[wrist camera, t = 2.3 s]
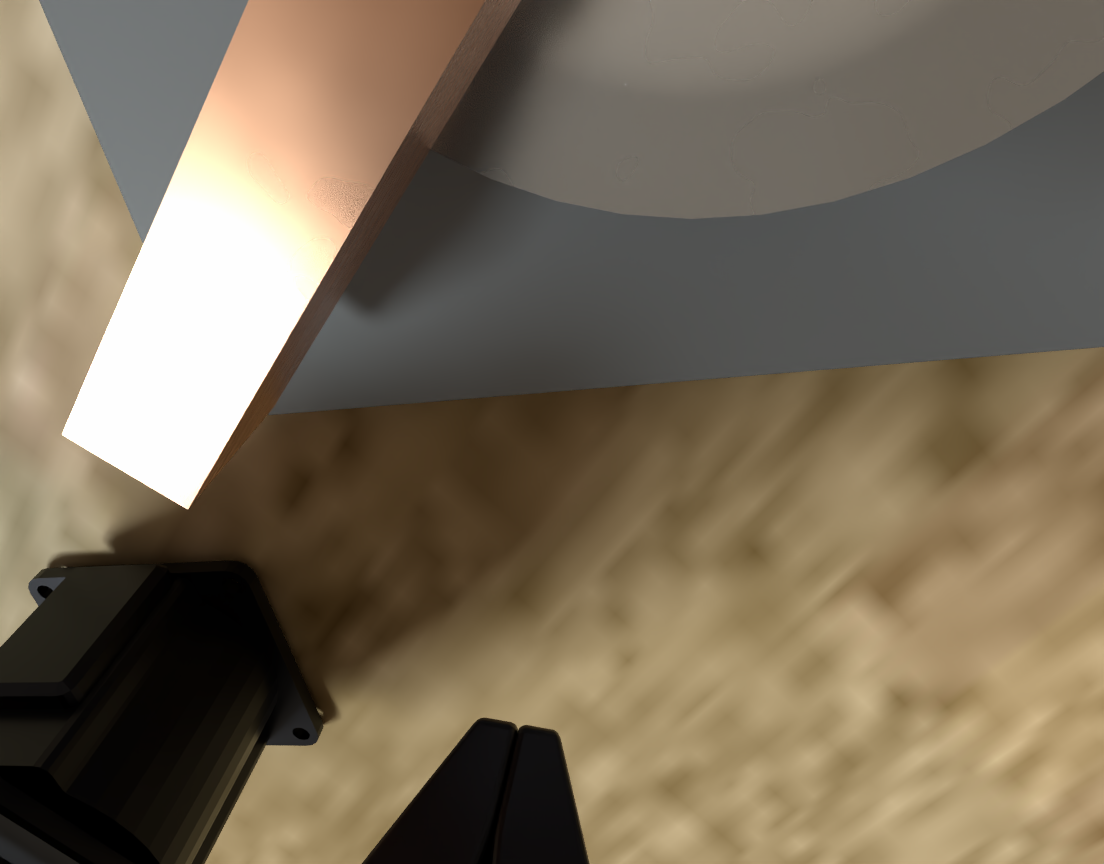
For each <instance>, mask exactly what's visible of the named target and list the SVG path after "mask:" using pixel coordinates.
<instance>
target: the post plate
mask: <svg viewBox="0 0 1104 864" xmlns="http://www.w3.org/2000/svg"><path fill="white" fill-rule="evenodd" d="M39 1H40V3H41V6H42V8H43V10H44V13H45V15H46V18H47V20H48V22H49V25H50V27H51V29H52V32H53V34H54V36H55V39H56V41H57V43H58V46H59V48H60V50H61V53H62V55H63V57H64V60H65V62H66V64H67V67H68V69H69V71H70V74H71V76H72V78H73V81H74V83H75V85H76V88H77V90H78V92H79V95H80V97H81V100H82V102H83V104H84V107H85V109H86V111H87V114H88V116H89V118H90V121H91V123H92V125H93V128H94V130H95V132H96V135H97V137H98V139H99V142H100V144H101V146H102V149H103V151H104V153H105V156H106V158H107V160H108V163H109V165H110V167H111V170H112V172H113V174H114V177H115V179H116V182H117V184H118V186H119V189H120V191H121V193H122V196H123V198H124V200H125V203H126V205H127V207H128V210H129V212H130V214H131V217H132V219H133V221H134V224H135V226H136V228H137V231H138V233H139V235H140V238H141V240H142V242H143V245H144V242H145V240H146V238H147V235H148V233H149V231H150V228H151V226H152V224H153V221H154V219H155V217H156V214H157V212H158V210H159V207H160V205H161V203H162V200H163V198H164V196H165V193H166V191H167V189H168V186H169V184H170V182H171V179H172V177H173V175H174V172H175V170H176V168H177V165H178V163H179V161H180V158H181V156H182V154H183V152H184V149H185V147H186V145H187V142H188V140H189V138H190V135H191V133H192V131H193V128H194V126H195V124H196V121H197V119H198V117H199V114H200V112H201V110H202V107H203V105H204V103H205V100H206V98H207V96H208V93H209V91H210V89H211V86H212V84H213V82H214V79H215V77H216V75H217V72H218V70H219V68H220V65H221V63H222V61H223V58H224V56H225V54H226V51H227V49H228V47H229V45H230V42H231V40H232V38H233V35H234V33H235V31H236V28H237V26H238V24H239V21H240V19H241V17H242V14H243V12H244V10H245V7H246V5H247V3H248V0H39ZM1096 347H1104V72H1102V73H1101V74H1099V75H1098V76H1097V77H1095V78H1094V79H1092V80H1091V81H1090V82H1088V83H1087V84H1085V85H1084V86H1083V87H1081V88H1080V89H1078V90H1077V91H1076V92H1074V93H1073V94H1071V95H1070V96H1069V97H1067V98H1066V99H1064V100H1063V101H1061V102H1059V103H1057V104H1056V105H1054V106H1052V107H1050V108H1049V109H1047V110H1045V111H1044V112H1042V113H1040V114H1038V115H1037V116H1035V117H1033V118H1031V119H1030V120H1028V121H1026V122H1024V123H1023V124H1021V125H1019V126H1017V127H1016V128H1014V129H1012V130H1010V131H1009V132H1007V133H1005V134H1003V135H1002V136H1000V137H998V138H996V139H995V140H993V141H991V142H989V143H988V144H986V145H984V146H981V147H979V148H977V149H975V150H972V151H970V152H968V153H965V154H963V155H961V156H959V157H956V158H954V159H952V160H949V161H947V162H945V163H943V164H940V165H938V166H936V167H934V168H931V169H929V170H927V171H924V172H922V173H920V174H918V175H915V176H913V177H911V178H908V179H905V180H902V181H899V182H895V183H892V184H889V185H886V186H882V187H879V188H876V189H873V190H870V191H866V192H863V193H860V194H857V195H853V196H850V197H847V198H844V199H840V200H837V201H834V202H828V203H823V204H818V205H812V206H807V207H801V208H796V209H790V210H785V211H779V212H774V213H769V214H763V215H750V216H733V217H715V218H698V219H685V218H670V217H656V216H641V215H626V214H619V213H614V212H609V211H604V210H599V209H594V208H589V207H584V206H579V205H574V204H569V203H564V202H559V201H555V200H552V199H549V198H546V197H543V196H540V195H537V194H534V193H531V192H528V191H525V190H522V189H519V188H516V187H513V186H510V185H507V184H504V183H501V182H498V181H495V180H492V179H490V178H488V177H486V176H484V175H482V174H480V173H478V172H476V171H474V170H472V169H469V168H467V167H465V166H463V165H461V164H459V163H457V162H455V161H453V160H451V159H449V158H447V157H445V156H443V155H441V154H439V153H437V152H434V151H432V150H430V151H429V153H428V154H427V156H426V158H425V159H424V161H423V163H422V164H421V166H420V167H419V169H418V171H417V172H416V174H415V176H414V177H413V179H412V181H411V182H410V184H409V186H408V187H407V189H406V191H405V192H404V194H403V195H402V197H401V199H400V200H399V202H398V204H397V205H396V207H395V209H394V210H393V212H392V214H391V215H390V217H389V218H388V220H387V222H386V223H385V225H384V227H383V228H382V230H381V232H380V233H379V235H378V237H377V238H376V240H375V242H374V243H373V245H372V246H371V248H370V250H369V251H368V253H367V255H366V256H365V258H364V260H363V261H362V263H361V265H360V266H359V268H358V270H357V271H356V273H355V274H354V276H353V278H352V279H351V281H350V283H349V284H348V286H347V288H346V289H345V291H344V293H343V294H342V296H341V298H340V299H339V301H338V302H337V304H336V306H335V307H334V309H333V311H332V312H331V314H330V316H329V317H328V319H327V321H326V322H325V324H324V325H323V327H322V329H321V330H320V332H319V334H318V335H317V337H316V339H315V340H314V342H313V344H312V345H311V347H310V349H309V350H308V352H307V353H306V355H305V357H304V358H303V360H302V362H301V363H300V365H299V367H298V368H297V370H296V372H295V373H294V375H293V377H292V378H291V380H290V381H289V383H288V385H287V386H286V388H285V390H284V391H283V393H282V395H281V396H280V398H279V400H278V401H277V403H276V405H275V406H274V408H273V409H272V410H271V411H270V412H269V414H268V415H276V414H288V413H301V412H313V411H325V410H337V409H349V408H362V407H374V406H386V405H398V404H411V403H423V402H435V401H447V400H460V399H472V398H484V397H496V396H508V395H521V394H533V393H545V392H557V391H570V390H582V389H594V388H606V387H619V386H631V385H643V384H655V383H667V382H680V381H692V380H704V379H716V378H729V377H741V376H753V375H765V374H778V373H790V372H802V371H814V370H827V369H839V368H851V367H863V366H875V365H888V364H900V363H912V362H924V361H937V360H949V359H961V358H973V357H986V356H998V355H1010V354H1022V353H1034V352H1047V351H1059V350H1071V349H1083V348H1096Z"/></svg>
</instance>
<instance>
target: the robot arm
mask: <svg viewBox="0 0 1104 864" xmlns="http://www.w3.org/2000/svg"><path fill="white" fill-rule="evenodd" d="M234 580H235V581H237V582H238V583H237V582H235V581H234ZM28 588H29V591H30V593H31V595H32V596H33V598H34V600H35V601H36V603H37V604H38V606H39V607H38V608H37V609H36V610H35V611H34V612H33V613H32V614H31V615H30V616H29V617H28V618H27V619H26V621H25V622H24V623H23V624H22V625H21V626H20V627H19V628H18V629H17V630H16V631H15V632H14V633H13V634H12V635H11V637H10V638H9V639H8V640H7V641H6V642H5V643H4V644H3V645H2V646H1V647H0V864H205V862H206V860H207V858H208V856H209V854H210V852H211V850H212V848H213V846H214V844H215V842H216V841H217V839H218V837H219V835H220V833H221V831H222V829H223V827H224V825H225V823H226V821H227V819H228V817H229V815H230V813H231V811H232V810H233V808H234V806H235V804H236V802H237V800H238V798H239V796H240V794H241V792H242V790H243V788H244V786H245V784H246V782H247V780H248V779H249V777H250V775H251V773H252V771H253V769H254V767H255V765H256V763H257V761H258V759H259V757H260V755H261V753H262V751H263V750H264V748H265V746H266V745H298V746H307V745H313V744H314V743H316V742H317V740H318V738H319V736H320V733H321V731H322V729H323V722H322V720H321V718H320V716H319V713H318V711H317V709H316V707H315V704H314V702H313V700H312V698H311V696H310V693H309V691H308V689H307V687H306V684H305V682H304V680H303V678H302V675H301V673H300V671H299V669H298V666H297V664H296V662H295V660H294V658H293V655H292V653H291V651H290V649H289V646H288V644H287V642H286V640H285V637H284V635H283V633H282V631H281V629H280V626H279V624H278V622H277V620H276V617H275V615H274V613H273V611H272V608H271V606H270V604H269V602H268V600H267V597H266V595H265V593H264V591H263V588H262V586H261V584H260V582H259V579H258V577H257V575H256V574H255V572H254V571H253V569H251V568H250V567H249V566H248V565H246V564H244V563H242V562H239V561H211V562H187V563H163V564H139V565H115V566H91V567H67V568H47V569H43V570H41V571H40V572H39V573H38V574H37V575H36V576H35V577H34V578H33V579H32V580H31V581H30V582H29V587H28ZM362 864H589V860H588V855H587V851H586V847H585V842H584V838H583V834H582V829H581V825H580V821H579V816H578V812H577V808H576V803H575V799H574V795H573V790H572V786H571V782H570V777H569V773H568V769H567V764H566V760H565V756H564V751H563V747H562V743H561V739H560V736H559V734H558V733H557V732H556V731H555V730H551V729H546V728H540V727H535V726H529V725H524V726H522V727H520V728H519V730H518V729H517V726H516V725H515V724H514V723H512V722H507V721H501V720H496V719H490V718H480V719H478V720H477V721H476V722H475V723H474V724H473V725H472V726H471V727H470V729H469V730H468V731H467V732H466V734H465V735H464V736H463V737H462V739H461V740H460V741H459V742H458V744H457V745H456V746H455V747H454V749H453V750H452V751H451V753H450V754H449V755H448V756H447V758H446V759H445V760H444V761H443V763H442V764H441V765H440V766H439V768H438V769H437V770H436V771H435V773H434V774H433V775H432V776H431V778H430V779H429V780H428V781H427V783H426V784H425V785H424V786H423V788H422V789H421V790H420V791H419V793H418V794H417V795H416V796H415V798H414V799H413V800H412V801H411V803H410V804H409V805H408V806H407V808H406V809H405V810H404V811H403V813H402V814H401V815H400V816H399V818H398V819H397V820H396V821H395V823H394V824H393V825H392V826H391V828H390V829H389V830H388V831H387V833H386V834H385V835H384V836H383V838H382V839H381V840H380V841H379V843H378V844H377V845H376V846H375V848H374V849H373V850H372V851H371V853H370V854H369V855H368V857H367V858H366V859H365V860H364V862H363V863H362Z"/></svg>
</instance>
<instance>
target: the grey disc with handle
mask: <svg viewBox="0 0 1104 864" xmlns="http://www.w3.org/2000/svg"><path fill="white" fill-rule="evenodd" d="M1102 72H1104V0H248V3H247V5H246V7H245V10H244V12H243V14H242V17H241V19H240V21H239V24H238V26H237V28H236V31H235V33H234V35H233V38H232V40H231V42H230V45H229V47H228V49H227V51H226V54H225V56H224V58H223V61H222V63H221V65H220V68H219V70H218V72H217V75H216V77H215V79H214V82H213V84H212V86H211V89H210V91H209V93H208V96H207V98H206V100H205V103H204V105H203V107H202V110H201V112H200V114H199V117H198V119H197V121H196V124H195V126H194V128H193V131H192V133H191V135H190V138H189V140H188V142H187V145H186V147H185V149H184V152H183V154H182V156H181V158H180V161H179V163H178V165H177V168H176V170H175V172H174V175H173V177H172V179H171V182H170V184H169V186H168V189H167V191H166V193H165V196H164V198H163V200H162V203H161V205H160V207H159V210H158V212H157V214H156V217H155V219H154V221H153V224H152V226H151V228H150V231H149V233H148V235H147V238H146V240H145V242H144V245H143V247H142V249H141V252H140V254H139V256H138V259H137V261H136V263H135V265H134V268H133V270H132V272H131V275H130V277H129V279H128V282H127V284H126V286H125V289H124V291H123V293H122V296H121V298H120V300H119V303H118V305H117V307H116V310H115V312H114V314H113V317H112V319H111V321H110V324H109V326H108V328H107V331H106V333H105V335H104V338H103V340H102V342H101V345H100V347H99V349H98V352H97V354H96V356H95V359H94V361H93V363H92V366H91V368H90V370H89V372H88V375H87V377H86V379H85V382H84V384H83V386H82V389H81V391H80V393H79V396H78V398H77V400H76V403H75V405H74V407H73V410H72V412H71V414H70V417H69V419H68V421H67V424H66V426H65V428H64V431H63V433H62V435H63V436H65V437H67V438H68V439H70V440H72V441H73V442H75V443H77V444H78V445H80V446H82V447H83V448H85V449H87V450H88V451H90V452H92V453H93V454H95V455H97V456H98V457H100V458H102V459H104V460H105V461H107V462H109V463H110V464H112V465H114V466H115V467H117V468H119V469H120V470H122V471H124V472H125V473H127V474H129V475H130V476H132V477H134V478H135V479H137V480H139V481H140V482H142V483H144V484H145V485H147V486H149V487H150V488H152V489H154V490H156V491H157V492H159V493H161V494H162V495H164V496H166V497H167V498H169V499H171V500H172V501H174V502H176V503H177V504H179V505H181V506H182V507H184V508H186V509H187V510H188V509H189V507H190V506H191V505H192V504H193V503H194V502H195V500H196V499H197V498H198V497H199V496H200V494H201V493H202V492H203V491H204V490H205V488H206V487H207V486H208V485H209V484H210V483H211V481H212V480H213V479H214V478H215V477H216V475H217V474H218V473H219V472H220V471H221V469H222V468H223V467H224V466H225V465H226V464H227V462H228V461H229V460H230V459H231V458H232V456H233V455H234V454H235V453H236V452H237V450H238V449H239V448H240V447H241V446H242V445H243V443H244V442H245V441H246V440H247V439H248V437H249V436H250V435H251V434H252V433H253V431H254V430H255V429H256V428H257V427H258V426H259V424H260V423H261V422H262V421H263V420H264V418H265V417H266V416H267V415H268V414H269V412H270V411H271V410H272V409H273V408H274V406H275V405H276V403H277V401H278V400H279V398H280V396H281V395H282V393H283V391H284V390H285V388H286V386H287V385H288V383H289V381H290V380H291V378H292V377H293V375H294V373H295V372H296V370H297V368H298V367H299V365H300V363H301V362H302V360H303V358H304V357H305V355H306V353H307V352H308V350H309V349H310V347H311V345H312V344H313V342H314V340H315V339H316V337H317V335H318V334H319V332H320V330H321V329H322V327H323V325H324V324H325V322H326V321H327V319H328V317H329V316H330V314H331V312H332V311H333V309H334V307H335V306H336V304H337V302H338V301H339V299H340V298H341V296H342V294H343V293H344V291H345V289H346V288H347V286H348V284H349V283H350V281H351V279H352V278H353V276H354V274H355V273H356V271H357V270H358V268H359V266H360V265H361V263H362V261H363V260H364V258H365V256H366V255H367V253H368V251H369V250H370V248H371V246H372V245H373V243H374V242H375V240H376V238H377V237H378V235H379V233H380V232H381V230H382V228H383V227H384V225H385V223H386V222H387V220H388V218H389V217H390V215H391V214H392V212H393V210H394V209H395V207H396V205H397V204H398V202H399V200H400V199H401V197H402V195H403V194H404V192H405V191H406V189H407V187H408V186H409V184H410V182H411V181H412V179H413V177H414V176H415V174H416V172H417V171H418V169H419V167H420V166H421V164H422V163H423V161H424V159H425V158H426V156H427V154H428V153H429V151H430V150H432V151H434V152H437V153H439V154H441V155H443V156H445V157H447V158H449V159H451V160H453V161H455V162H457V163H459V164H461V165H463V166H465V167H467V168H469V169H472V170H474V171H476V172H478V173H480V174H482V175H484V176H486V177H488V178H490V179H492V180H495V181H498V182H501V183H504V184H507V185H510V186H513V187H516V188H519V189H522V190H525V191H528V192H531V193H534V194H537V195H540V196H543V197H546V198H549V199H552V200H555V201H559V202H564V203H569V204H574V205H579V206H584V207H589V208H594V209H599V210H604V211H609V212H614V213H619V214H626V215H641V216H656V217H670V218H685V219H698V218H715V217H733V216H750V215H763V214H769V213H774V212H779V211H785V210H790V209H796V208H801V207H807V206H812V205H818V204H823V203H828V202H834V201H837V200H840V199H844V198H847V197H850V196H853V195H857V194H860V193H863V192H866V191H870V190H873V189H876V188H879V187H882V186H886V185H889V184H892V183H895V182H899V181H902V180H905V179H908V178H911V177H913V176H915V175H918V174H920V173H922V172H924V171H927V170H929V169H931V168H934V167H936V166H938V165H940V164H943V163H945V162H947V161H949V160H952V159H954V158H956V157H959V156H961V155H963V154H965V153H968V152H970V151H972V150H975V149H977V148H979V147H981V146H984V145H986V144H988V143H989V142H991V141H993V140H995V139H996V138H998V137H1000V136H1002V135H1003V134H1005V133H1007V132H1009V131H1010V130H1012V129H1014V128H1016V127H1017V126H1019V125H1021V124H1023V123H1024V122H1026V121H1028V120H1030V119H1031V118H1033V117H1035V116H1037V115H1038V114H1040V113H1042V112H1044V111H1045V110H1047V109H1049V108H1050V107H1052V106H1054V105H1056V104H1057V103H1059V102H1061V101H1063V100H1064V99H1066V98H1067V97H1069V96H1070V95H1071V94H1073V93H1074V92H1076V91H1077V90H1078V89H1080V88H1081V87H1083V86H1084V85H1085V84H1087V83H1088V82H1090V81H1091V80H1092V79H1094V78H1095V77H1097V76H1098V75H1099V74H1101V73H1102Z"/></svg>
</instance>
